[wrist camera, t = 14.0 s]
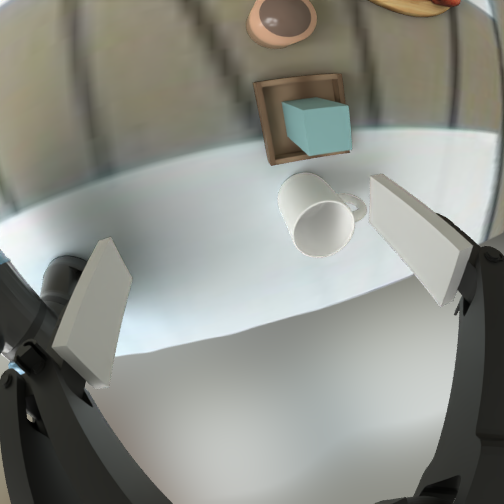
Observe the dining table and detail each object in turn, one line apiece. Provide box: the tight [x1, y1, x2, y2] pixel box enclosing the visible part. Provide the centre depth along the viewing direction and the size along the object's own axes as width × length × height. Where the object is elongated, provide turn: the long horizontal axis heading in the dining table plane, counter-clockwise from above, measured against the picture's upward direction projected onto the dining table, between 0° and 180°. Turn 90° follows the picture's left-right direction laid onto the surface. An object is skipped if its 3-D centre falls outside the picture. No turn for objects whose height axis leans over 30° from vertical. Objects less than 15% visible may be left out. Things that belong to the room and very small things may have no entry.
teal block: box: [282, 97, 352, 156], centre depth 30 cm, size 5×5×10 cm
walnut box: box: [253, 74, 350, 166], centre depth 33 cm, size 11×11×2 cm
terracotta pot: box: [246, 0, 317, 49], centre depth 24 cm, size 7×7×7 cm
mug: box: [277, 172, 367, 258], centre depth 38 cm, size 12×8×10 cm
